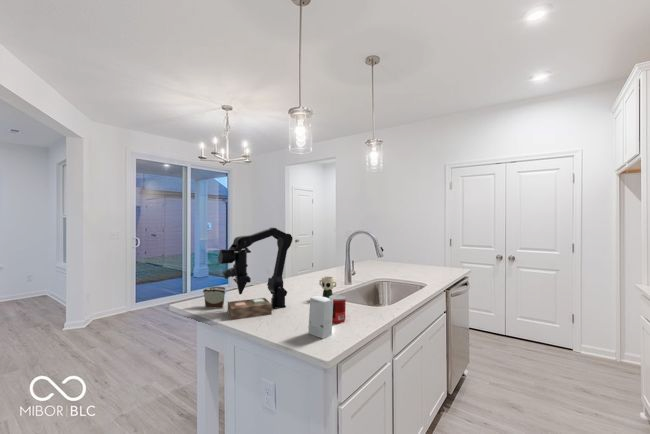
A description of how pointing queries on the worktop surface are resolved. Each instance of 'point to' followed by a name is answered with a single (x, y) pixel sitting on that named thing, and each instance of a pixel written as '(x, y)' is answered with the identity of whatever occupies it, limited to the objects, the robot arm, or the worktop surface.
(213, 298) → the food container
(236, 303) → the terracotta key
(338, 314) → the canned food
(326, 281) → the character mug
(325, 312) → the skincare box
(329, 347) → the worktop surface
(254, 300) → the sage key
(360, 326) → the worktop surface
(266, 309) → the key console
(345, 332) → the worktop surface
